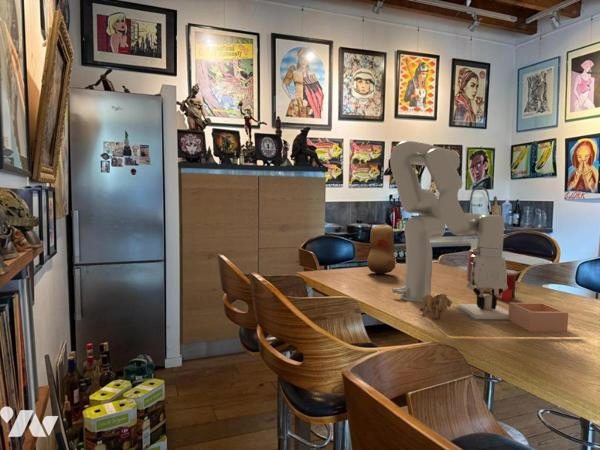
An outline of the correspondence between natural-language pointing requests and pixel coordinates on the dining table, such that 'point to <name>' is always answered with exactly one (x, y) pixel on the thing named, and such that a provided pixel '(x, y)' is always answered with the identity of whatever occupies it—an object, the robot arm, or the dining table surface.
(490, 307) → the lid
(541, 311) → the pink square box
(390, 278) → the dining table surface
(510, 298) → the canned food
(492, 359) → the dining table surface
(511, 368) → the dining table surface
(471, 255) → the canister
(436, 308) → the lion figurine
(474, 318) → the mat
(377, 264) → the butternut squash
